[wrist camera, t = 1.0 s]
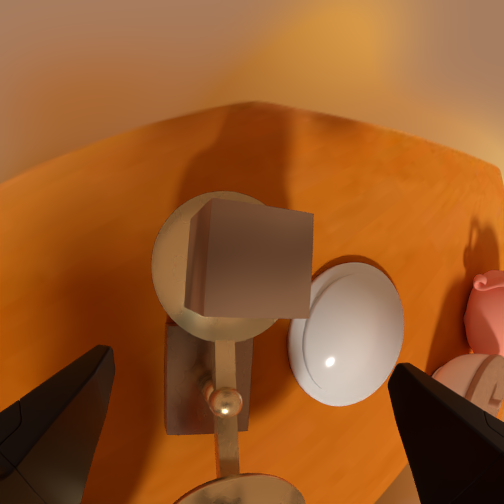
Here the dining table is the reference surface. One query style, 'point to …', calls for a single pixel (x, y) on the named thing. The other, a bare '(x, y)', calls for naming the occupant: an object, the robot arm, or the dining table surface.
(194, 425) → the balance
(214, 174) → the dining table surface
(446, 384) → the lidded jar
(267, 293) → the block
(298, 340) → the dish
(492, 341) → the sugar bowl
